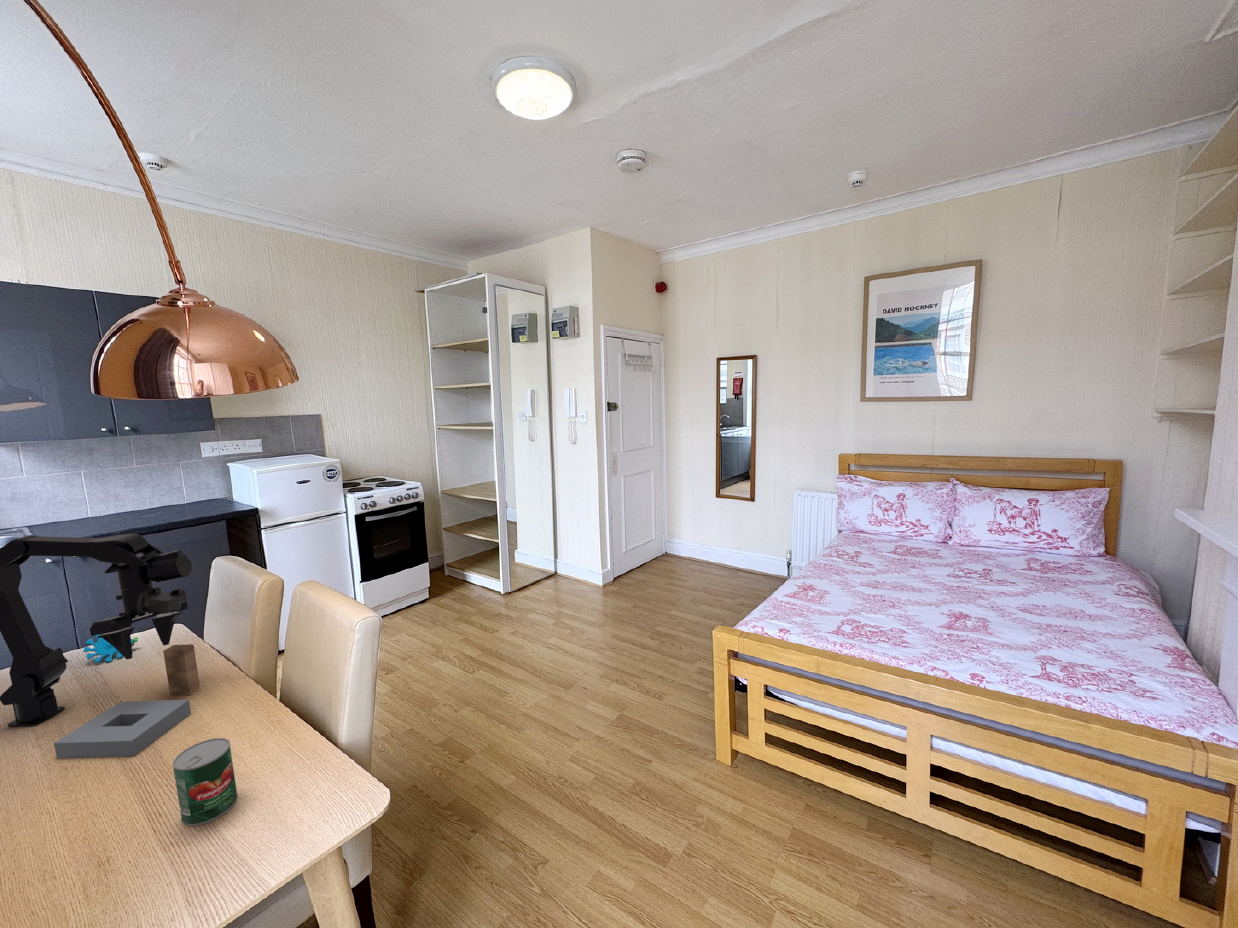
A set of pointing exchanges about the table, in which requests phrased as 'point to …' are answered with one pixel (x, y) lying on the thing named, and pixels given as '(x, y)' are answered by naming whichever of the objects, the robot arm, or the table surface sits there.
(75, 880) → the table surface
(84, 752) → the socket block
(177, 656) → the walnut peg
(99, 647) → the gear
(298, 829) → the table surface
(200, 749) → the canned tomato
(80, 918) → the table surface
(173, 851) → the table surface
